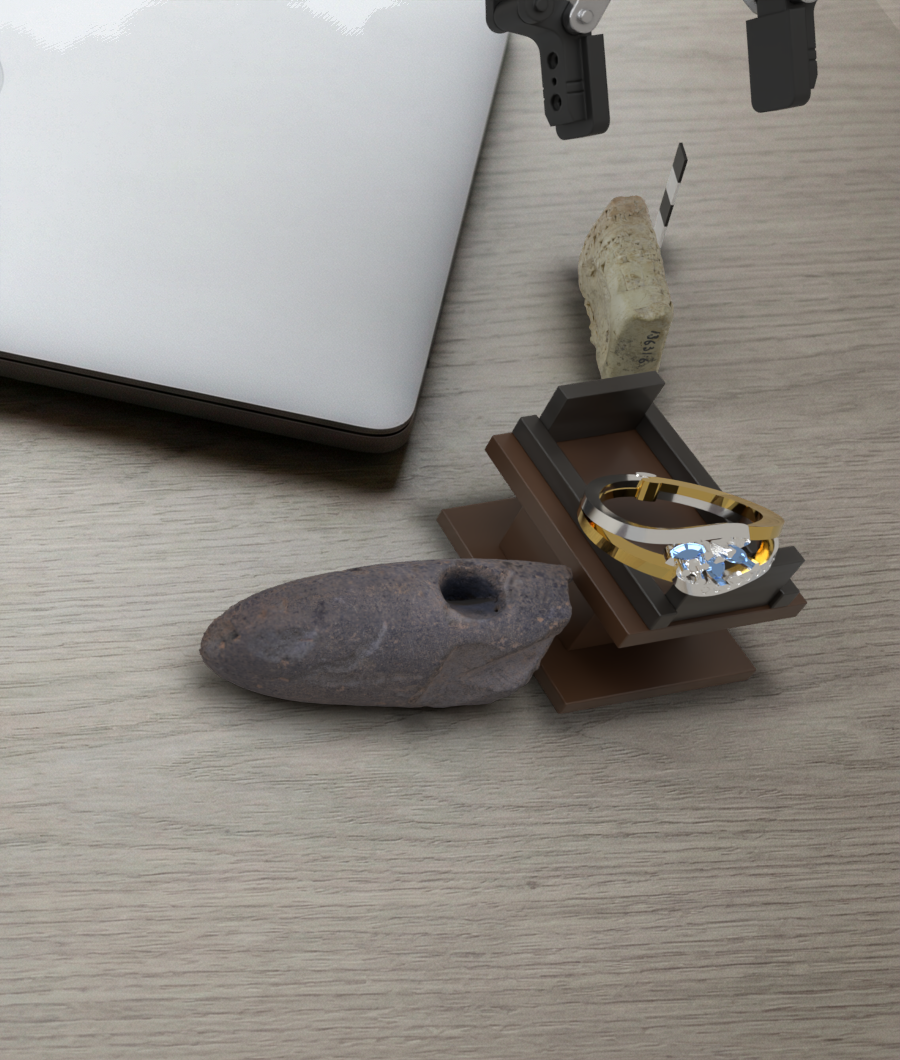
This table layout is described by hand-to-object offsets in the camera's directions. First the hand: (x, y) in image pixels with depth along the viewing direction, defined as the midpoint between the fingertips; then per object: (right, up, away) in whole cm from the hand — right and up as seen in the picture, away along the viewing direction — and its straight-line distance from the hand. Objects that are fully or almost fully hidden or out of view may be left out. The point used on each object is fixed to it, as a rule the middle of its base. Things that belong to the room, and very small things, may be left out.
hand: (683, 123), depth 66 cm
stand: (+2, -19, +10) cm, 22 cm away
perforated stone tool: (-10, -23, +8) cm, 26 cm away
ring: (+1, -14, +5) cm, 15 cm away
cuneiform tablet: (+9, -5, +21) cm, 24 cm away
